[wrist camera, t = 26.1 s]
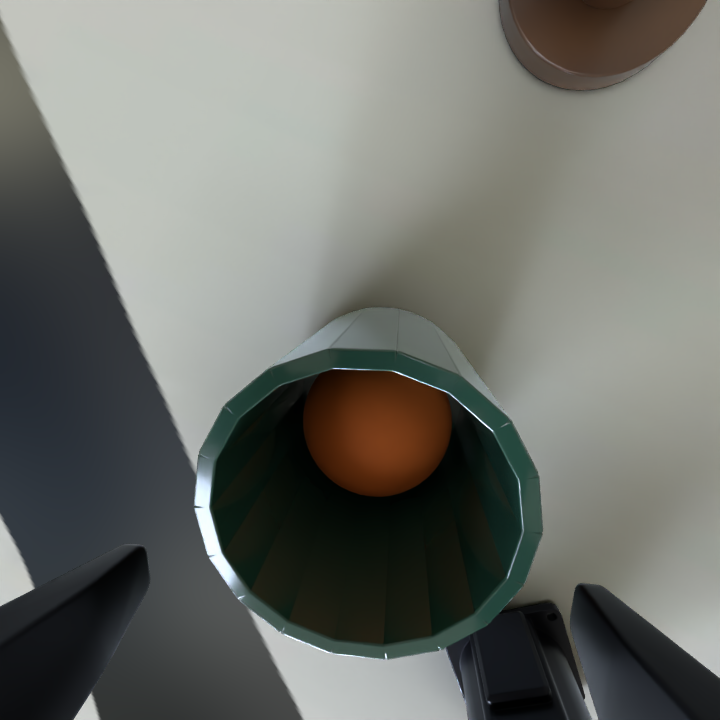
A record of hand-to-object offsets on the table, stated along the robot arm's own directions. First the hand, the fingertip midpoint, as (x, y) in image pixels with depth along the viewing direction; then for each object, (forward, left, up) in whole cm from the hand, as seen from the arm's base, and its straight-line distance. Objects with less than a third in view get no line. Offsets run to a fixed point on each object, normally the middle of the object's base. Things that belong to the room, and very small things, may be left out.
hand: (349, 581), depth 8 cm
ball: (0, 0, -8) cm, 8 cm away
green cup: (0, 0, -12) cm, 12 cm away
